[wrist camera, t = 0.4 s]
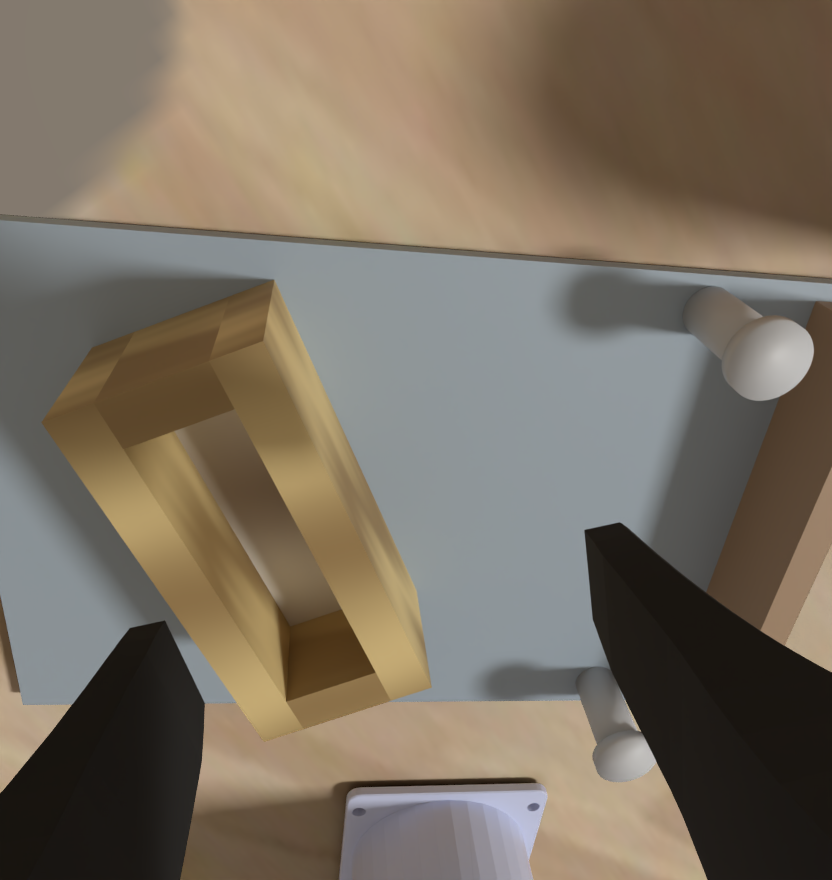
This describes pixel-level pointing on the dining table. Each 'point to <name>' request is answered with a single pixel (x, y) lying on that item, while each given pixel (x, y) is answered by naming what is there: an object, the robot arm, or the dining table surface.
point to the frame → (247, 510)
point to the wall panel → (448, 442)
